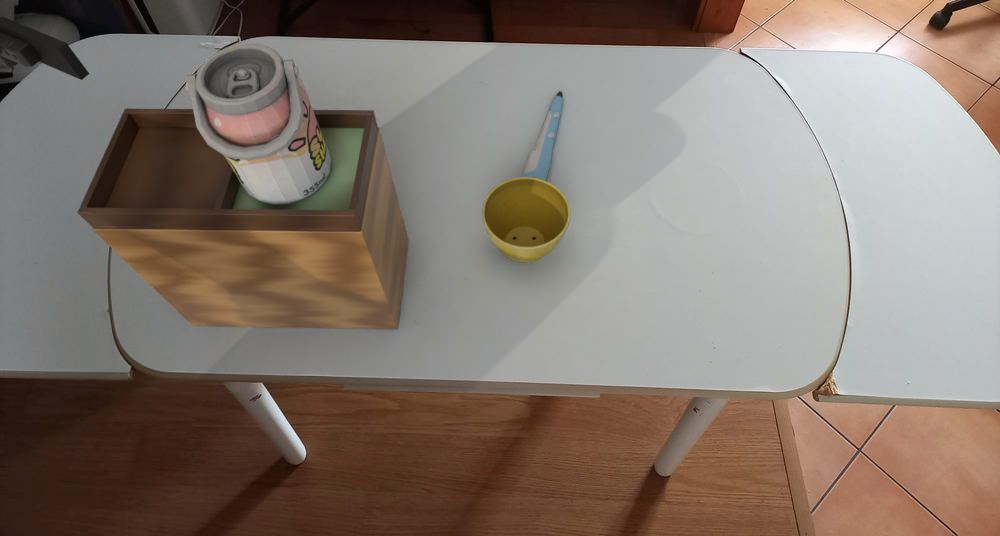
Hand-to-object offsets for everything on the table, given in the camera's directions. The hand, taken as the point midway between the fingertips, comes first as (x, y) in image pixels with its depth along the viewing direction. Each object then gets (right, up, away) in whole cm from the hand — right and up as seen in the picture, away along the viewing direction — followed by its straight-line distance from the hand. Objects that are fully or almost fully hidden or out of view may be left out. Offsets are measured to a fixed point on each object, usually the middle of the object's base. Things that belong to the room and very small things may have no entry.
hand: (144, 6), depth 46 cm
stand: (+3, -21, +28) cm, 35 cm away
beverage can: (+8, -12, +10) cm, 17 cm away
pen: (+33, -3, +38) cm, 51 cm away
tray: (+3, -11, +11) cm, 16 cm away
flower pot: (+30, -17, +30) cm, 46 cm away
